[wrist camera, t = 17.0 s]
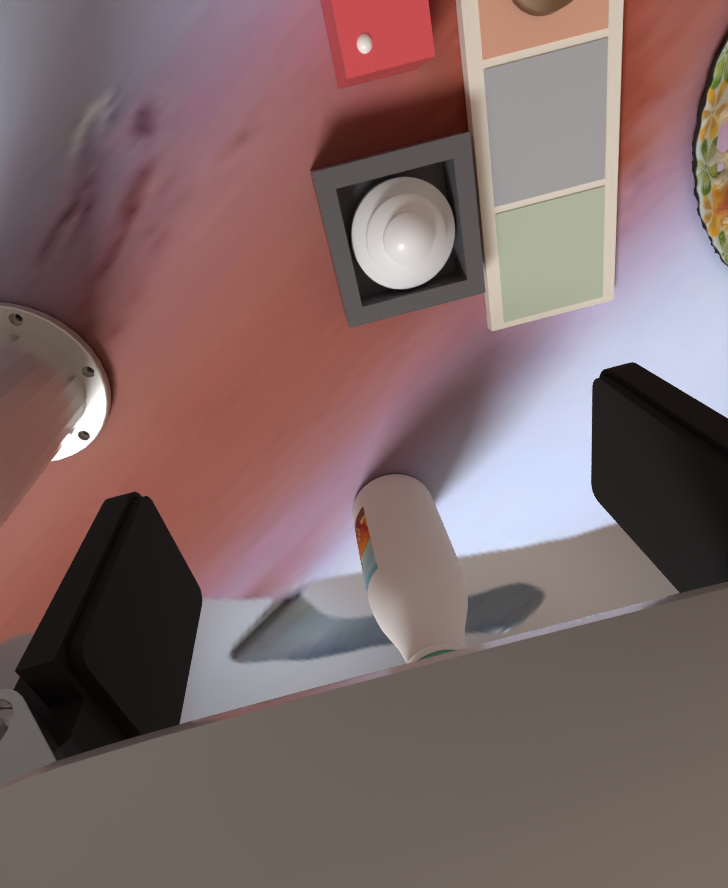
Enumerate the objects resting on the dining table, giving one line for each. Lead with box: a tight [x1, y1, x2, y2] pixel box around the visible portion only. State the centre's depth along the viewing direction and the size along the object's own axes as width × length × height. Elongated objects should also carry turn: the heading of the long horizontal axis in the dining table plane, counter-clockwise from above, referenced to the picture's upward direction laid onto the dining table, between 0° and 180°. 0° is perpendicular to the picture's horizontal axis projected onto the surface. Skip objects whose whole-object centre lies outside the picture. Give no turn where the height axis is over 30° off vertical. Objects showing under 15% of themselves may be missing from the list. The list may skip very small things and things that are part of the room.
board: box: [456, 0, 624, 331], centre depth 34 cm, size 10×26×1 cm, turn 13°
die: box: [321, 0, 435, 89], centre depth 29 cm, size 5×5×5 cm
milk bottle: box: [353, 474, 468, 664], centre depth 40 cm, size 8×8×20 cm
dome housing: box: [310, 132, 486, 327], centre depth 35 cm, size 10×10×4 cm
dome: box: [350, 176, 455, 289], centre depth 34 cm, size 7×7×3 cm
